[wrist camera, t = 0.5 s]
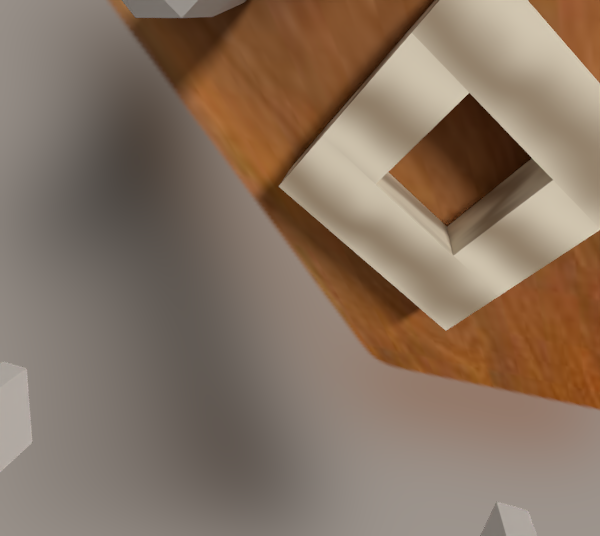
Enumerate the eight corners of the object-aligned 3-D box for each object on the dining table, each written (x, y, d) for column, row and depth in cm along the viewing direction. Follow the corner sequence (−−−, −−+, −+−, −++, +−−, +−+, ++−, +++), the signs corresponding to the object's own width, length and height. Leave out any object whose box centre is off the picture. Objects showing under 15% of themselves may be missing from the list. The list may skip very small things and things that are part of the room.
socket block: (469, -41, 27) (483, -51, 22) (641, 153, 30) (680, 176, 26) (292, 165, 36) (278, 186, 32) (440, 296, 39) (445, 330, 35)
